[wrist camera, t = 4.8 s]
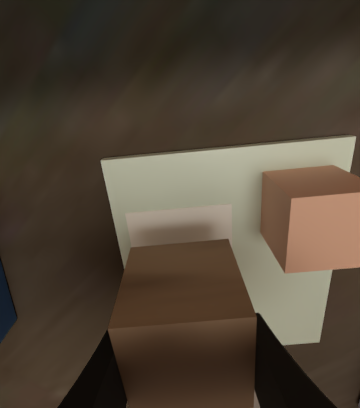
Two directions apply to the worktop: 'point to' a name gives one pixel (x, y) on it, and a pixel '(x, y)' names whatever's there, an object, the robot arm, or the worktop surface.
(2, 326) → the protein box
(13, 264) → the worktop surface
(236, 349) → the walnut cube
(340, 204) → the terracotta block
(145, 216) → the baseplate
